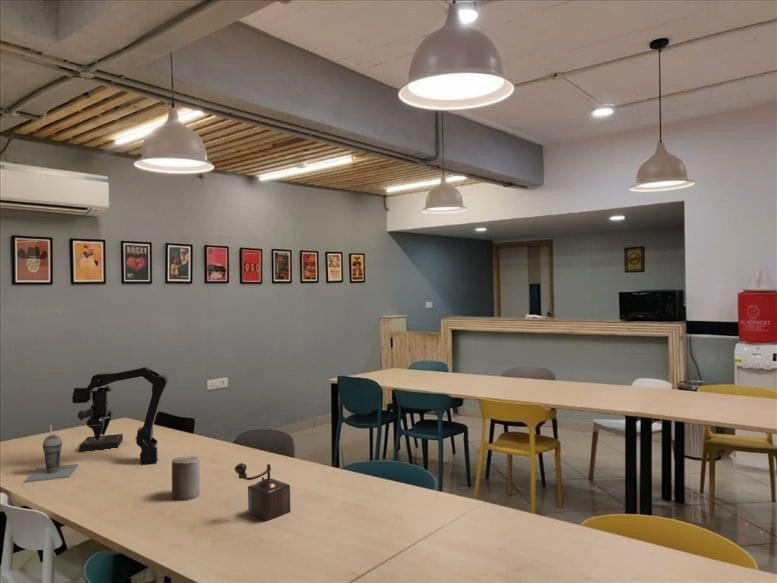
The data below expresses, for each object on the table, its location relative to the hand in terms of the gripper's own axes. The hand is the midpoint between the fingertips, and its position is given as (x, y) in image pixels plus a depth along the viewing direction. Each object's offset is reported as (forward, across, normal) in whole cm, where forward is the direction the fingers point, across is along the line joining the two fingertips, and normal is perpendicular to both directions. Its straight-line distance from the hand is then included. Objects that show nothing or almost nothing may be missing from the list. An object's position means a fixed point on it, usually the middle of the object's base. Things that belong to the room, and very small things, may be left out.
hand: (100, 437), depth 239 cm
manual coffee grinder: (+13, +77, +68) cm, 104 cm away
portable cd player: (+14, -38, -9) cm, 41 cm away
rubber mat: (+13, +3, -18) cm, 22 cm away
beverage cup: (+13, +3, -18) cm, 22 cm away
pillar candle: (+13, +50, +41) cm, 66 cm away
